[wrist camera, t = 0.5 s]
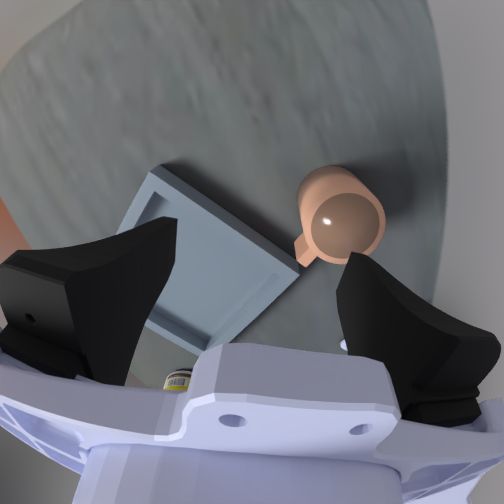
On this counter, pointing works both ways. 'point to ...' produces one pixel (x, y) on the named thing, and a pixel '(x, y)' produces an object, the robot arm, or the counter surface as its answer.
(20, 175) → the counter surface
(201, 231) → the tray
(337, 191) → the terracotta cup
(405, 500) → the robot arm
